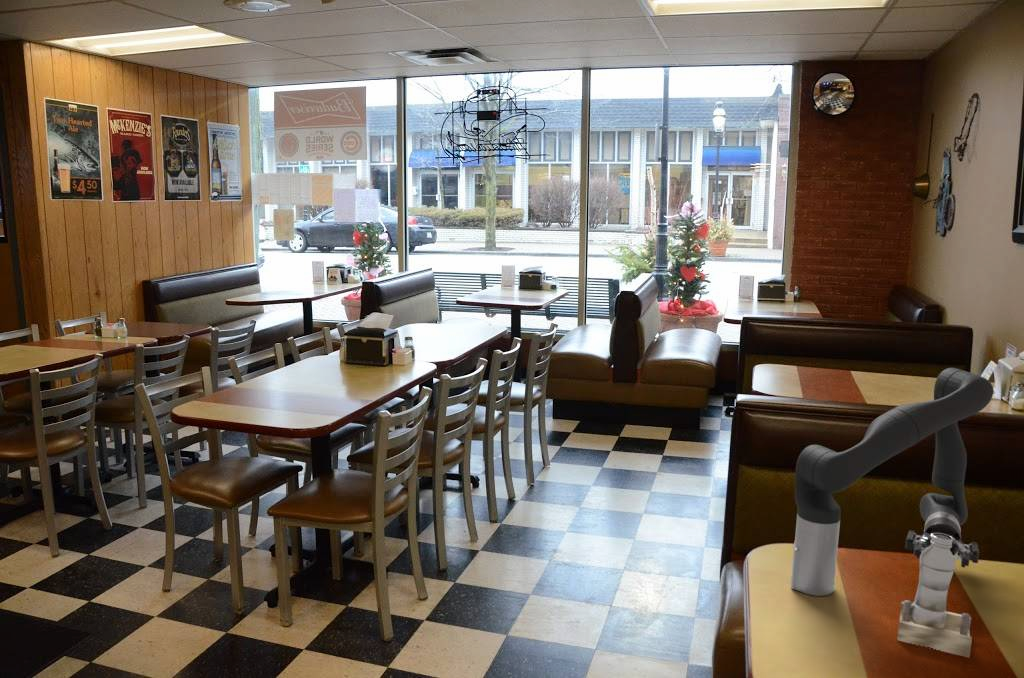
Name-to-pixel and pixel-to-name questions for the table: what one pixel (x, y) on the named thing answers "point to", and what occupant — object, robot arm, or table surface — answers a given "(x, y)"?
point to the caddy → (937, 632)
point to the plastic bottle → (934, 582)
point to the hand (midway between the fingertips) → (941, 558)
